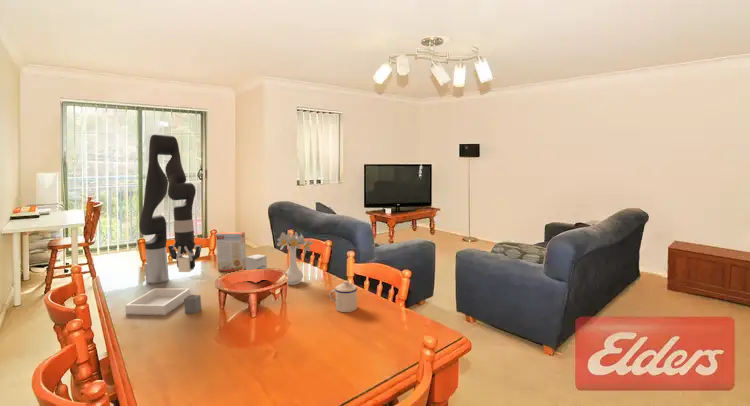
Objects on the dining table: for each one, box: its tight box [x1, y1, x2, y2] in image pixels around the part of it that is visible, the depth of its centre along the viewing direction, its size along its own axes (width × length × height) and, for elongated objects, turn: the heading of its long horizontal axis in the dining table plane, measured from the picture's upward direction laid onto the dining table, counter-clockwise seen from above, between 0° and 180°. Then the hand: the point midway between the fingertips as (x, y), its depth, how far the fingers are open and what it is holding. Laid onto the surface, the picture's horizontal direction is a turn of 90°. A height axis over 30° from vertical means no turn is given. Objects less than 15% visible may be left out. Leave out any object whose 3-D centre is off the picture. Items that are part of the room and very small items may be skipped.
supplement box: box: [245, 254, 268, 270], centre depth 201 cm, size 7×7×13 cm
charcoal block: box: [183, 294, 202, 314], centre depth 163 cm, size 4×4×6 cm
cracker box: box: [215, 231, 247, 272], centre depth 219 cm, size 14×6×21 cm, turn 84°
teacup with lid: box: [328, 280, 358, 313], centre depth 165 cm, size 12×9×12 cm
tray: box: [124, 287, 191, 316], centre depth 169 cm, size 16×20×4 cm
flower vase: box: [276, 231, 314, 286], centre depth 196 cm, size 13×18×25 cm
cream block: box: [177, 254, 195, 273], centre depth 173 cm, size 4×4×6 cm
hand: (186, 268), depth 173 cm, fingers closed on cream block, 4 cm apart
